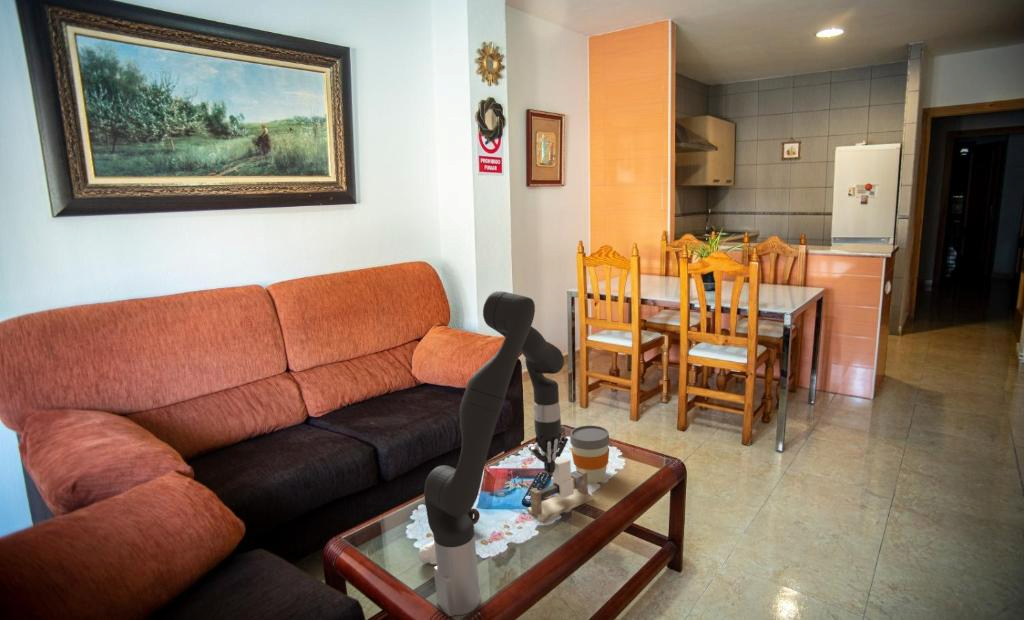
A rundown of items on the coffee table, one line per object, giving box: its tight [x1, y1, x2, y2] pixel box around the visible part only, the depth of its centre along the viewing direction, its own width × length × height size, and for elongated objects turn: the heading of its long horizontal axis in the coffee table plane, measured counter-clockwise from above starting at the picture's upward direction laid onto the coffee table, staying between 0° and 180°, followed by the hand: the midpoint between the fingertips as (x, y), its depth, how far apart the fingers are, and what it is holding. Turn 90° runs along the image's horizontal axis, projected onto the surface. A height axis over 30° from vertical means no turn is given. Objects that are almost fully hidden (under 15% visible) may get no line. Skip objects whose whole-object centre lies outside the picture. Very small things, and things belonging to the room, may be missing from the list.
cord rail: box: [526, 469, 594, 523], centre depth 178 cm, size 19×7×8 cm, turn 124°
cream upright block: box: [550, 456, 574, 499], centre depth 178 cm, size 4×5×10 cm
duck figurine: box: [417, 531, 437, 566], centre depth 155 cm, size 12×8×11 cm
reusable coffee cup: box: [569, 424, 611, 484], centre depth 193 cm, size 13×13×15 cm
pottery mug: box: [467, 508, 481, 525], centre depth 171 cm, size 12×10×8 cm
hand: (550, 472), depth 175 cm, fingers closed
